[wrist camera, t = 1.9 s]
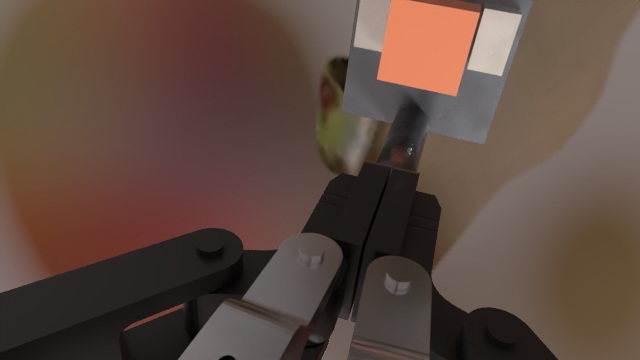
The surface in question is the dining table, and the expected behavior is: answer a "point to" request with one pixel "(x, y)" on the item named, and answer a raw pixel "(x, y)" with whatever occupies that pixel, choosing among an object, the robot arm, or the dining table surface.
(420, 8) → the button
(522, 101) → the dining table surface
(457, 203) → the dining table surface
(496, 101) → the twin post stand
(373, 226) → the robot arm
